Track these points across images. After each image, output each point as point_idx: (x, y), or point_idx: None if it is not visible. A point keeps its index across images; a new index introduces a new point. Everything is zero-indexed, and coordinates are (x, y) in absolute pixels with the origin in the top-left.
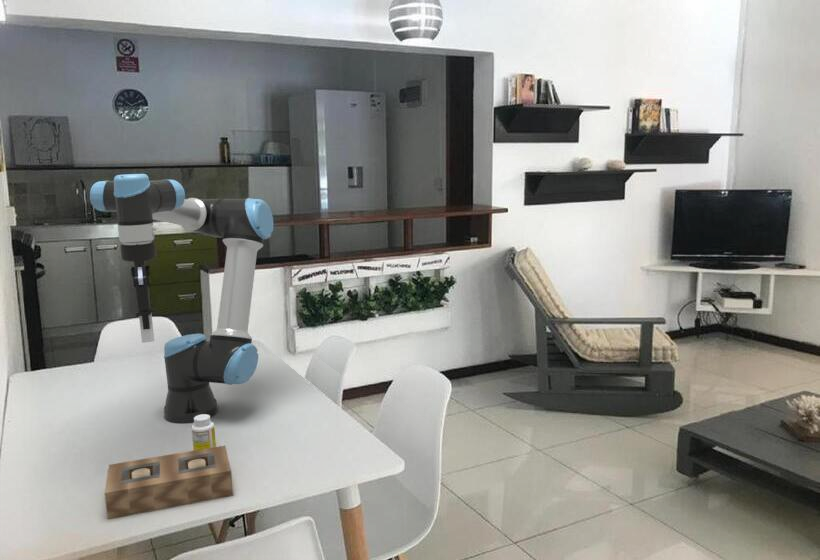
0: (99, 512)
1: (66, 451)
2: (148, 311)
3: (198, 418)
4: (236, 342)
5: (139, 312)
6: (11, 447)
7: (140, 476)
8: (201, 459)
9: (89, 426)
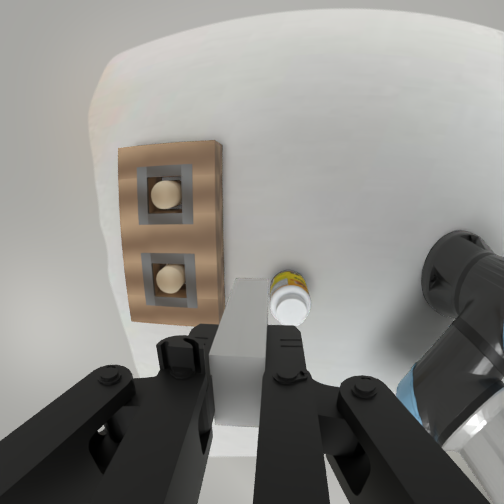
0: (157, 137)
1: (390, 77)
2: (105, 431)
3: (287, 306)
4: (438, 434)
5: (88, 380)
6: (424, 18)
7: (151, 195)
8: (177, 288)
9: (468, 117)
